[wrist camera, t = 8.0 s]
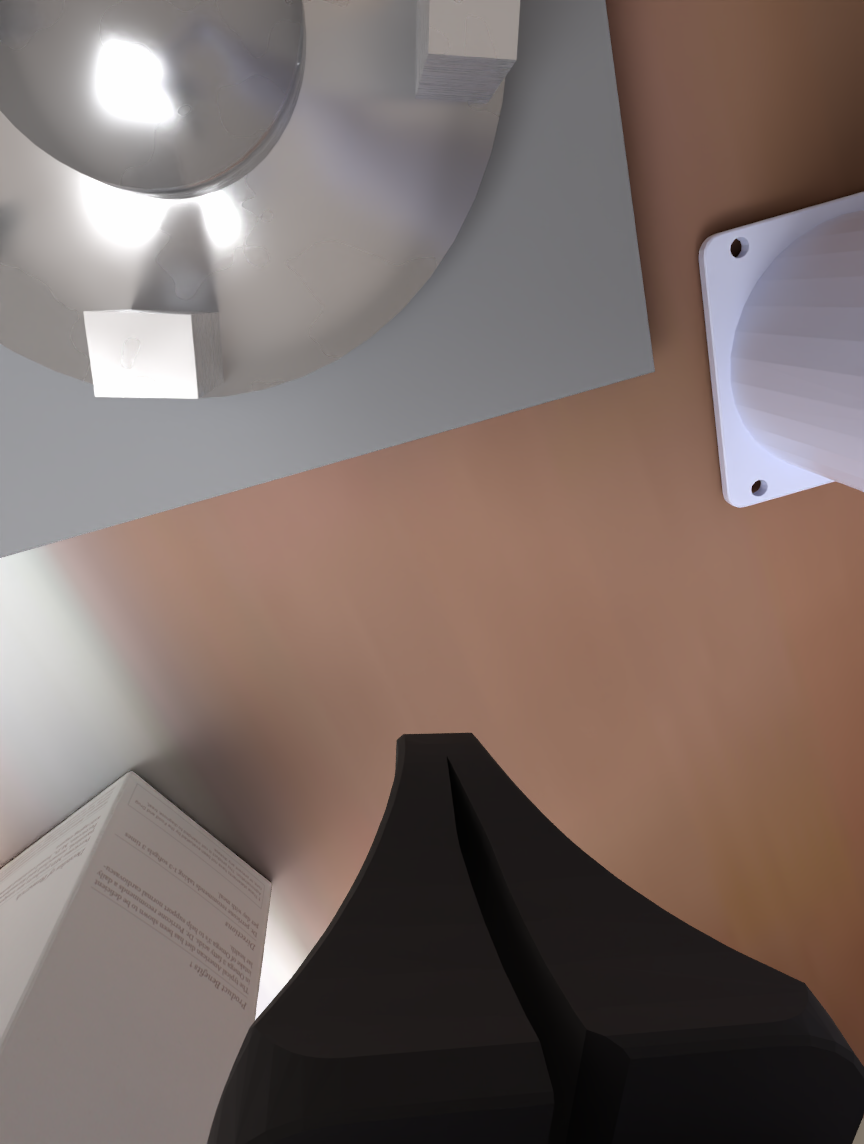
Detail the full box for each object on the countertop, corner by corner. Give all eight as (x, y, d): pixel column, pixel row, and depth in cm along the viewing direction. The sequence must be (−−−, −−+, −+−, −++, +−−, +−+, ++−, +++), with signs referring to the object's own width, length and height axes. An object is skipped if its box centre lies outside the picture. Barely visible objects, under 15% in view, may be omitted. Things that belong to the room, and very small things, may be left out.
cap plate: (485, -710, 13) (499, -818, 12) (638, 367, 20) (657, 372, 19) (-547, -414, 13) (-645, -491, 12) (-15, 553, 20) (-40, 570, 19)
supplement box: (-20, 876, 25) (-358, 1398, 13) (135, 762, 24) (-83, 1217, 12) (136, 984, 27) (-30, 1500, 16) (281, 885, 26) (220, 1359, 14)
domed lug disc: (523, -397, 13) (592, -682, 10) (479, 398, 19) (512, 423, 15) (-343, -522, 12) (-683, -924, 8) (-119, 386, 17) (-257, 411, 13)
